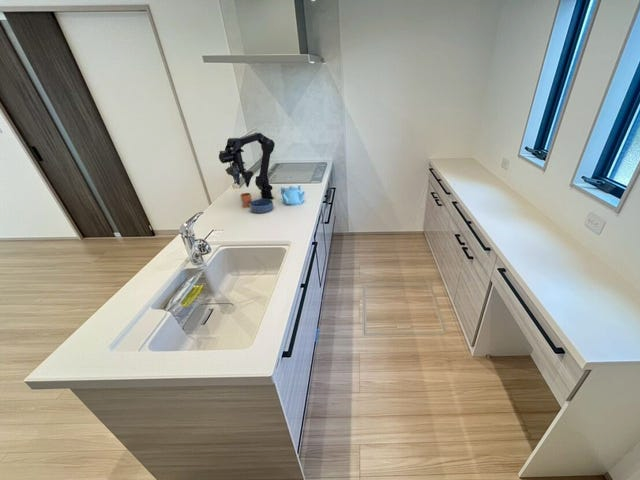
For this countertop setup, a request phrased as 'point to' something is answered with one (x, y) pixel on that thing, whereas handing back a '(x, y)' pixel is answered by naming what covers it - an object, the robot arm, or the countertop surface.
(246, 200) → the cup
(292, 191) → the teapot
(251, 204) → the bowl
